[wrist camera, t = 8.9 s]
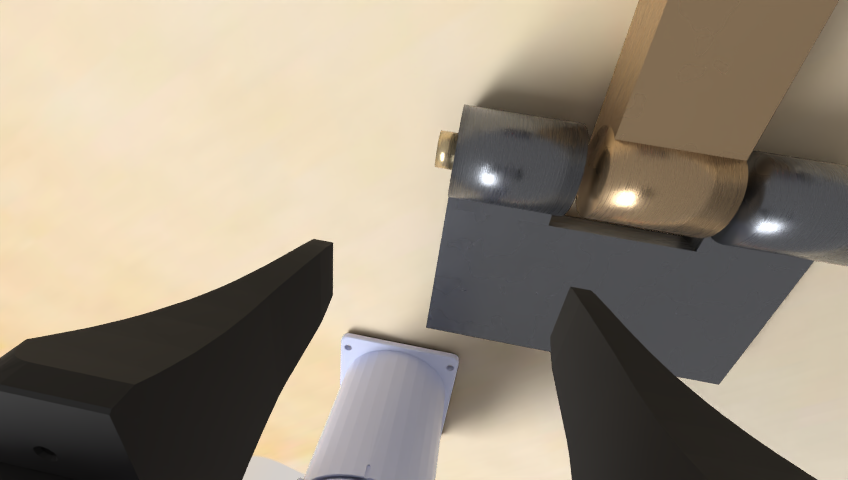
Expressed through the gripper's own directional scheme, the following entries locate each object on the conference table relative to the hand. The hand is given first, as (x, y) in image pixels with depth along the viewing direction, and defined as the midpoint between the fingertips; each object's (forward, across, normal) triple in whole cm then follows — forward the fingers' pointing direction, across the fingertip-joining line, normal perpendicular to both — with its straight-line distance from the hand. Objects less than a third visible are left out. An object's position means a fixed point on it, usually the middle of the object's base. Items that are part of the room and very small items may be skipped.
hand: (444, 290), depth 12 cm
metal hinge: (+9, -8, +3) cm, 13 cm away
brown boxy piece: (+9, -8, -5) cm, 14 cm away
